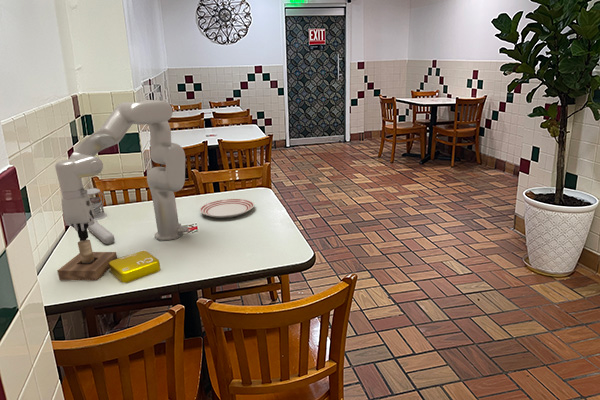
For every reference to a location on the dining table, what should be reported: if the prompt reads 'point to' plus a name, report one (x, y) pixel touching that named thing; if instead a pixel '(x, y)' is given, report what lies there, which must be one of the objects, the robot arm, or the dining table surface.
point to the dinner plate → (226, 208)
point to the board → (87, 267)
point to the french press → (96, 203)
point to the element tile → (134, 266)
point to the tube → (101, 233)
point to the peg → (86, 252)
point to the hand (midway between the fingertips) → (84, 239)
